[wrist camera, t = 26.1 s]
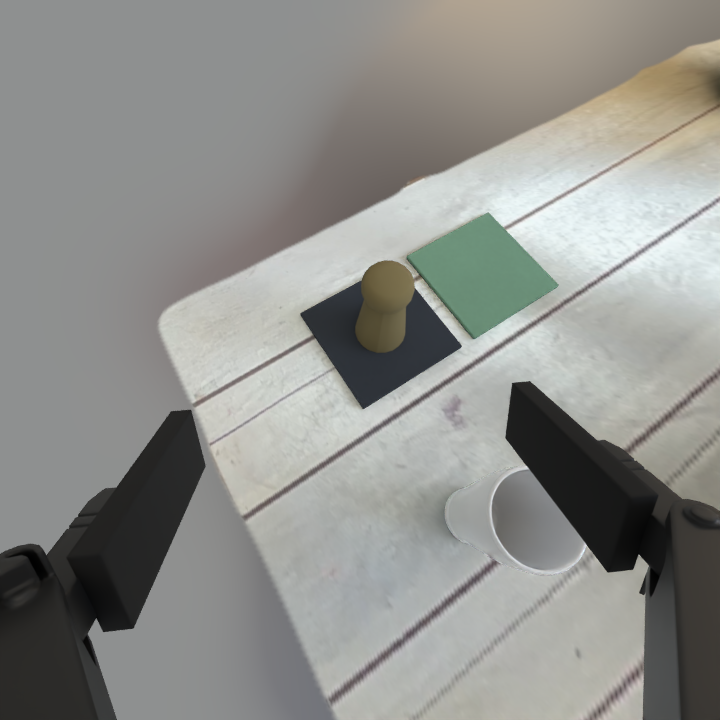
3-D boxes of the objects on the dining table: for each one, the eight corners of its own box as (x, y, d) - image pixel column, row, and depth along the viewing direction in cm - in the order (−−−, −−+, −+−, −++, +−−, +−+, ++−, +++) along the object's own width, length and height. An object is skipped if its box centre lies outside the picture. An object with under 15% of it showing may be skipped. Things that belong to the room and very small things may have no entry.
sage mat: (487, 214, 53) (488, 212, 53) (557, 287, 49) (559, 285, 48) (406, 258, 50) (407, 255, 49) (473, 339, 46) (475, 337, 45)
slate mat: (394, 264, 49) (394, 262, 49) (460, 347, 45) (462, 346, 45) (300, 315, 46) (300, 313, 46) (363, 409, 42) (363, 408, 42)
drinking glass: (422, 522, 38) (466, 529, 24) (458, 466, 40) (516, 443, 26) (481, 568, 37) (563, 603, 23) (514, 508, 39) (608, 506, 25)
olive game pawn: (368, 300, 47) (374, 241, 37) (413, 320, 46) (432, 265, 36) (346, 339, 45) (345, 288, 34) (392, 361, 44) (405, 315, 34)
